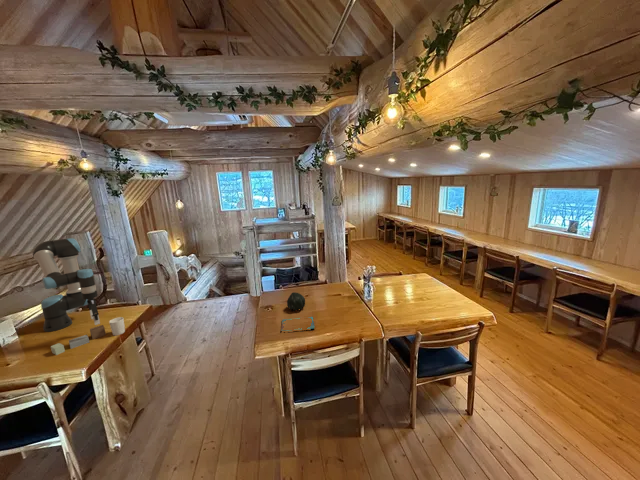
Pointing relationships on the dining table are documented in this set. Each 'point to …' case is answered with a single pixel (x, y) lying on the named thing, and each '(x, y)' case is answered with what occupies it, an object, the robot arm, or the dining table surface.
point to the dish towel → (298, 328)
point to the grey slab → (78, 341)
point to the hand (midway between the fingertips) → (95, 321)
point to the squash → (296, 301)
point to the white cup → (117, 325)
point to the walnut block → (97, 332)
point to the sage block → (57, 349)
